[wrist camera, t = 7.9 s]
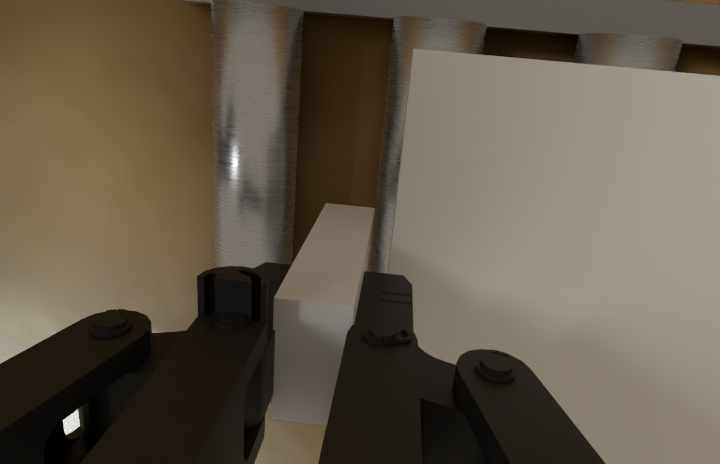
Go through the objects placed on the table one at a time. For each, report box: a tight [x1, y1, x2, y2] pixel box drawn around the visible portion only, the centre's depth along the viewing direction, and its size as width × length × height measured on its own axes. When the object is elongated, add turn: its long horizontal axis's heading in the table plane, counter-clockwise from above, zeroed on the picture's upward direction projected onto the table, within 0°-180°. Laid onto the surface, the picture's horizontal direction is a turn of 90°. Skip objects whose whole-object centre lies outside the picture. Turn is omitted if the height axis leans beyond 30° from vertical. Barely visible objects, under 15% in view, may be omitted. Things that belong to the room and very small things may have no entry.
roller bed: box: [177, 0, 720, 274], centre depth 19 cm, size 16×30×3 cm, turn 85°
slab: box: [387, 49, 720, 464], centre depth 15 cm, size 18×12×4 cm, turn 85°
